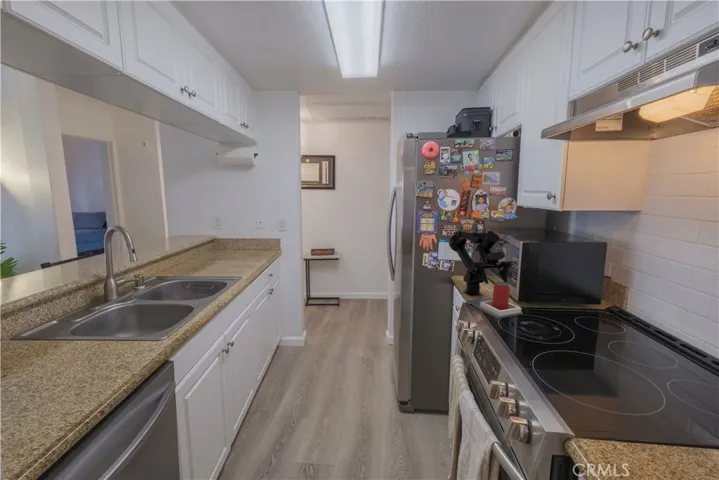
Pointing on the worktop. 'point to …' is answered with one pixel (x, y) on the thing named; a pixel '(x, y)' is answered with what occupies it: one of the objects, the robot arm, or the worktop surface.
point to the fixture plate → (486, 306)
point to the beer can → (501, 295)
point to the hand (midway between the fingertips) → (496, 283)
